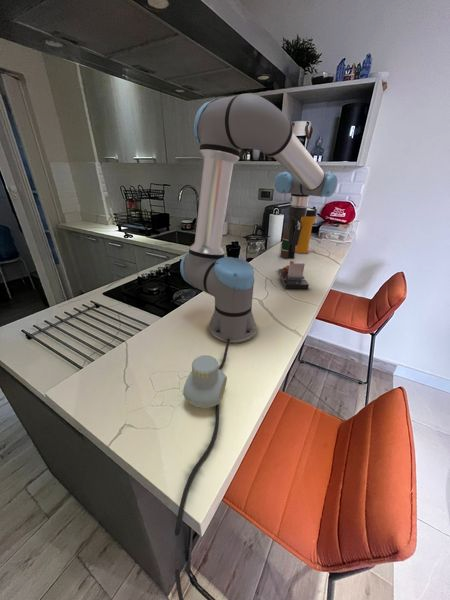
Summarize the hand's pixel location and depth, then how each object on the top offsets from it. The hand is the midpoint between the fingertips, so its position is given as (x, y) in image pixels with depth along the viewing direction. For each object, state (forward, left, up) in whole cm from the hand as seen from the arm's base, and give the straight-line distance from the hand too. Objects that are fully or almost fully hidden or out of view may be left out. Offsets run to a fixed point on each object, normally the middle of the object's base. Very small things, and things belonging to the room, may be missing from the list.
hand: (290, 258), depth 123 cm
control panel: (-11, 0, -9) cm, 14 cm away
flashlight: (+38, -16, -9) cm, 42 cm away
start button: (0, 0, -6) cm, 6 cm away
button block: (0, 0, -9) cm, 9 cm away
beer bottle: (+28, -5, -9) cm, 30 cm away
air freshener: (-74, +36, -9) cm, 83 cm away
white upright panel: (-11, 0, -6) cm, 12 cm away
